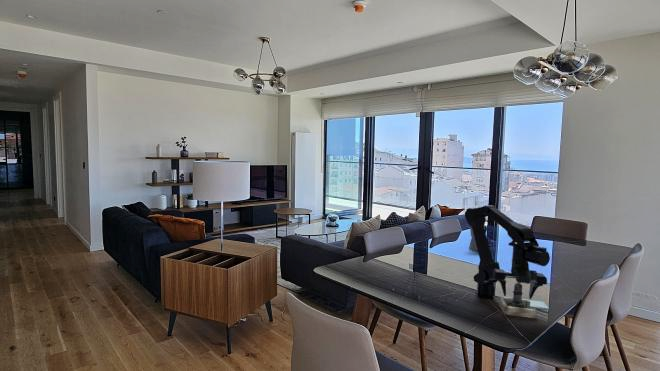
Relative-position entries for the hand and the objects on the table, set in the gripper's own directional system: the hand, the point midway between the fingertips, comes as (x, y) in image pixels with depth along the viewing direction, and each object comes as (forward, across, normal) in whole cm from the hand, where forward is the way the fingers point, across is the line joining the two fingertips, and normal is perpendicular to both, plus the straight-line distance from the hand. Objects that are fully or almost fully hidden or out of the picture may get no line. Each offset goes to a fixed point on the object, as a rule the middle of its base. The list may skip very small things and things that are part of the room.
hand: (517, 297), depth 148 cm
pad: (+5, +10, +8) cm, 14 cm away
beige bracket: (+5, 0, 0) cm, 5 cm away
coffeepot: (+6, -1, +102) cm, 102 cm away
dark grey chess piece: (+6, 0, 0) cm, 6 cm away
